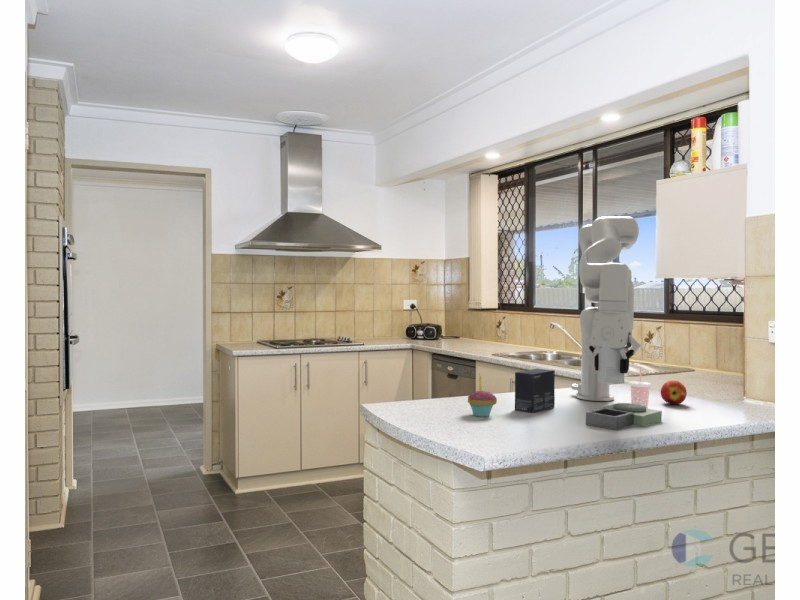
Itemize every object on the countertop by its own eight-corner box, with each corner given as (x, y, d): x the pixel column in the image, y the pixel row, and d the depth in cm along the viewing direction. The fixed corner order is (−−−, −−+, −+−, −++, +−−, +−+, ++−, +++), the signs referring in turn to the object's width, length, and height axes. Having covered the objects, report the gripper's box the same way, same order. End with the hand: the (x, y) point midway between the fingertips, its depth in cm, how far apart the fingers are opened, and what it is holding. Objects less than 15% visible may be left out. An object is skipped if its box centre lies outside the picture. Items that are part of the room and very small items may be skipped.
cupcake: (462, 413, 190) (463, 372, 190) (487, 411, 193) (488, 372, 193) (475, 418, 182) (476, 377, 182) (501, 417, 185) (502, 376, 185)
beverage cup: (646, 414, 194) (648, 368, 194) (626, 411, 198) (627, 366, 198) (652, 411, 199) (653, 366, 199) (632, 408, 203) (633, 365, 202)
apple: (661, 405, 210) (662, 381, 210) (659, 401, 218) (659, 378, 218) (687, 407, 208) (688, 382, 208) (684, 403, 216) (685, 379, 216)
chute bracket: (585, 424, 178) (586, 412, 177) (603, 419, 184) (604, 407, 184) (615, 430, 171) (616, 417, 171) (633, 425, 178) (633, 412, 178)
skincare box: (617, 381, 180) (619, 338, 180) (625, 383, 175) (626, 340, 175) (596, 381, 179) (598, 338, 179) (603, 383, 175) (604, 339, 175)
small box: (536, 404, 207) (537, 368, 206) (555, 408, 202) (556, 370, 202) (513, 410, 197) (514, 371, 197) (532, 413, 192) (533, 373, 192)
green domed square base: (596, 418, 186) (596, 404, 186) (616, 413, 194) (616, 400, 194) (642, 426, 176) (642, 412, 176) (661, 421, 184) (661, 407, 184)
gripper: (578, 306, 181) (576, 369, 181) (636, 308, 168) (634, 376, 168) (591, 306, 186) (590, 367, 186) (649, 308, 173) (647, 374, 174)
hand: (611, 371), depth 177 cm, fingers closed on skincare box, 6 cm apart
